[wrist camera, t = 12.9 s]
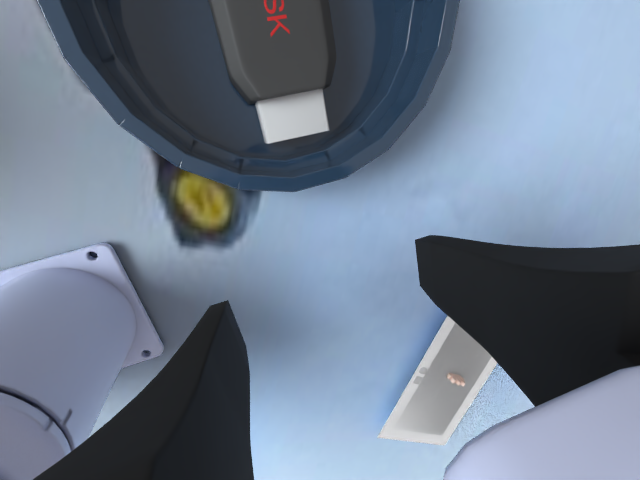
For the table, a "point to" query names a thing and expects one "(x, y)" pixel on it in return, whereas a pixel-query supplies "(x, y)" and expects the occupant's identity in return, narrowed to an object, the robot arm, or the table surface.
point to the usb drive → (279, 61)
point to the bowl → (226, 102)
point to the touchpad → (440, 388)
